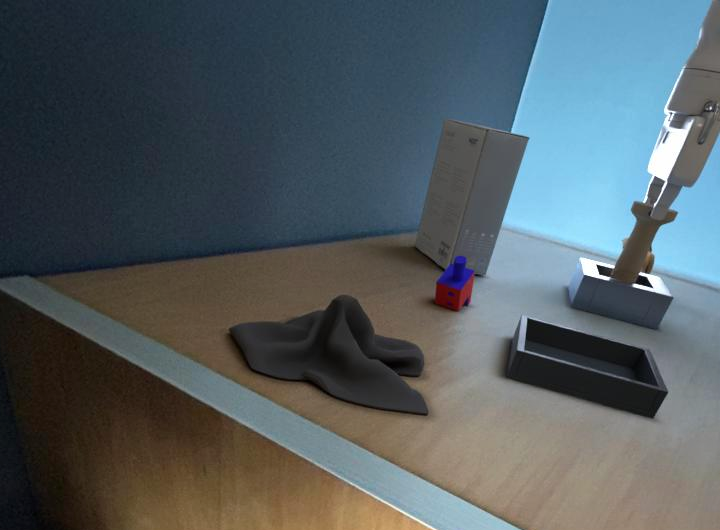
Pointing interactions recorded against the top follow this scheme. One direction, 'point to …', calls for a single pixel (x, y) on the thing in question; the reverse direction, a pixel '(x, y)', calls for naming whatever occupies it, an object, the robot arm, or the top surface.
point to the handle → (639, 242)
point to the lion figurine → (648, 261)
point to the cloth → (337, 356)
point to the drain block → (619, 294)
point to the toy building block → (455, 285)
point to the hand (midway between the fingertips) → (650, 214)
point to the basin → (586, 366)
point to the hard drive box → (469, 193)
